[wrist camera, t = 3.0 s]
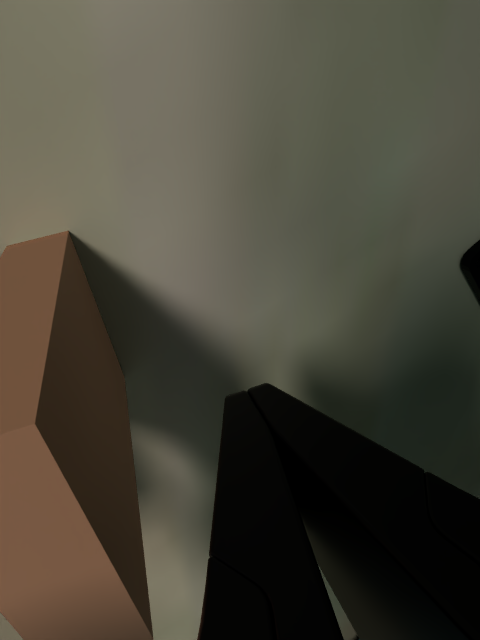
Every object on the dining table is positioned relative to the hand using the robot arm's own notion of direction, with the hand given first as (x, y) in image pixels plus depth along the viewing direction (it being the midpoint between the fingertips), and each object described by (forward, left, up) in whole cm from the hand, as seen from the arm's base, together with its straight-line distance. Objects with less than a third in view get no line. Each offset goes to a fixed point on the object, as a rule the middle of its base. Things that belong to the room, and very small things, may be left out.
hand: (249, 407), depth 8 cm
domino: (+2, +3, -6) cm, 7 cm away
